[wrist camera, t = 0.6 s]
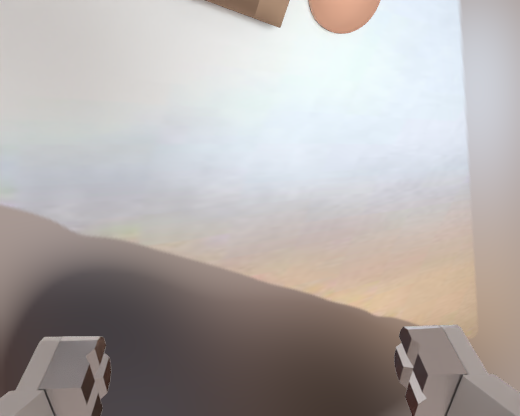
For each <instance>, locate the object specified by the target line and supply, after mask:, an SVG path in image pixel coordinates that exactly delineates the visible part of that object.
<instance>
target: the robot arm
mask: <svg viewBox="0 0 520 416" xmlns="http://www.w3.org/2000/svg"><path fill="white" fill-rule="evenodd" d="M399 338H400V340H401V344H399V345H398V346H397V347H396V350H395V355H394V362H395V369H396V374H397V377H398V379H399V382H400V383H401V384H402V385H404V386H405V387H406V388H407V391H406V395H405V398H406V401H407V404H408V406H409V409H410V412H411V414H412V416H520V392H519V391H517V390H516V389H514V388H513V387H512V386H510V385H509V384H507V383H506V382H504V381H503V380H502V379H500V378H499V377H497V376H496V375H495V374H488V372H487V371H486V369H485V367H484V366H483V364H482V362H481V361H480V359H479V357H478V356H477V354H476V352H475V351H474V349H473V347H472V346H471V344H470V342H469V340H468V339H467V337H466V335H465V334H464V332H463V330H462V329H461V327H459V326H458V325H439V326H437V325H432V326H409V327H403V328H402V329H401V331H400V334H399ZM105 348H106V343H105V340H104V337H101V336H95V337H94V336H93V337H92V336H91V337H90V336H88V337H44V338H43V339H42V340H41V341H40V342H39V344H38V346H37V348H36V350H35V352H34V354H33V356H32V358H31V360H30V362H29V364H28V366H27V368H26V370H25V372H24V374H23V376H22V378H21V381H20V382H19V384H18V386H17V388H16V390H15V391H9V392H8V393H7V394H5V395H4V396H3V397H2V398H0V416H101V413H102V409H103V407H102V403H101V400H100V399H101V398H102V397H103V396H104V395H105V394H106V393H107V392H108V388H109V384H110V378H111V362H110V358H109V356H107V355H106V354H105V353H104V351H105Z"/></svg>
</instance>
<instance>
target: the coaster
mask: <svg viewBox="0 0 520 416" xmlns="http://www.w3.org/2000/svg"><path fill="white" fill-rule="evenodd" d="M379 3H380V0H309V6H310V9H311V12H312V15H313V16H314V18H315V20H316V21H317V22H318V23H319V24H320V25H321V26H322V27H323V28H325V29H327V30H329V31H331V32H335V33H340V34H341V33H350V32H353V31H355V30H357V29H359V28H360V27H362V26H363V25H364V24H366V23H367V22H368V21H369V20H370V18H371V17H372V16H373V14H374V13H375V11H376V9H377V7H378V5H379Z"/></svg>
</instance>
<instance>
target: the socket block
mask: <svg viewBox="0 0 520 416" xmlns="http://www.w3.org/2000/svg"><path fill="white" fill-rule="evenodd" d="M206 1H208V2H211V3H214V4H217V5H219V6H222V7H225V8H227V9H230V10H233V11H236V12H238V13H241V14H244V15H247V16H249V17H252V18H255V19H257V20H260V21H263V22H266V23H268V24H271V25H274V26H276V27H279V28H280V27H281V24H282V21H283V18H284V15H285V12H286V9H287V6H288V4H289V1H290V0H206Z"/></svg>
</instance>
